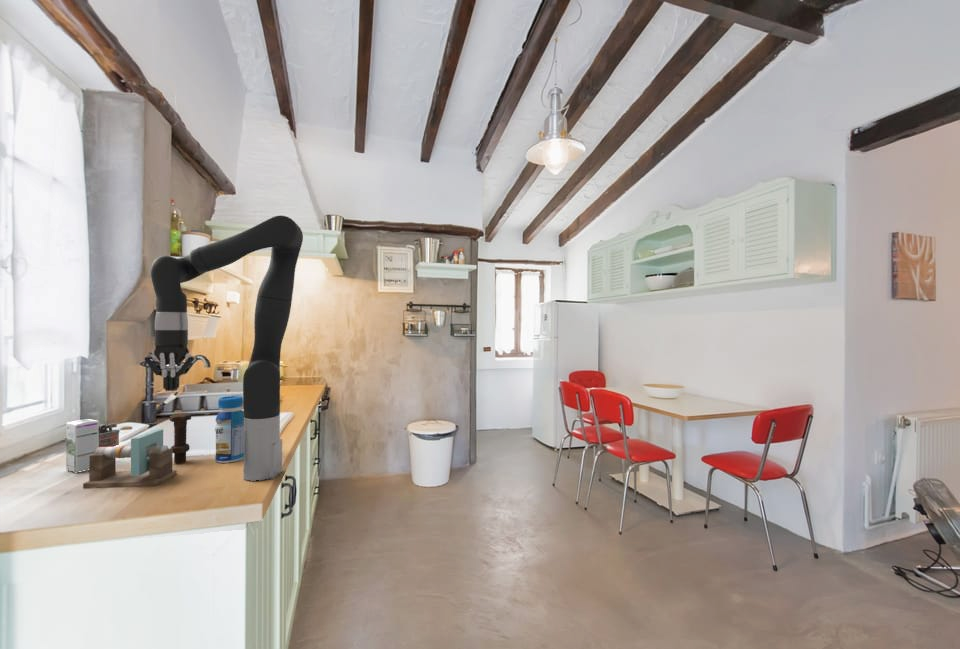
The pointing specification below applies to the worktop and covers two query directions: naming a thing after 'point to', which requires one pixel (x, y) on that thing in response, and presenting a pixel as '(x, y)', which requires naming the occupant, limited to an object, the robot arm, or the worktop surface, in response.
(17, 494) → the worktop surface
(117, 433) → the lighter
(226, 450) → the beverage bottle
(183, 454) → the bolt
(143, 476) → the pipe stand
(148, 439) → the collar
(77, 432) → the syrup box
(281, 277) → the robot arm
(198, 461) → the worktop surface
